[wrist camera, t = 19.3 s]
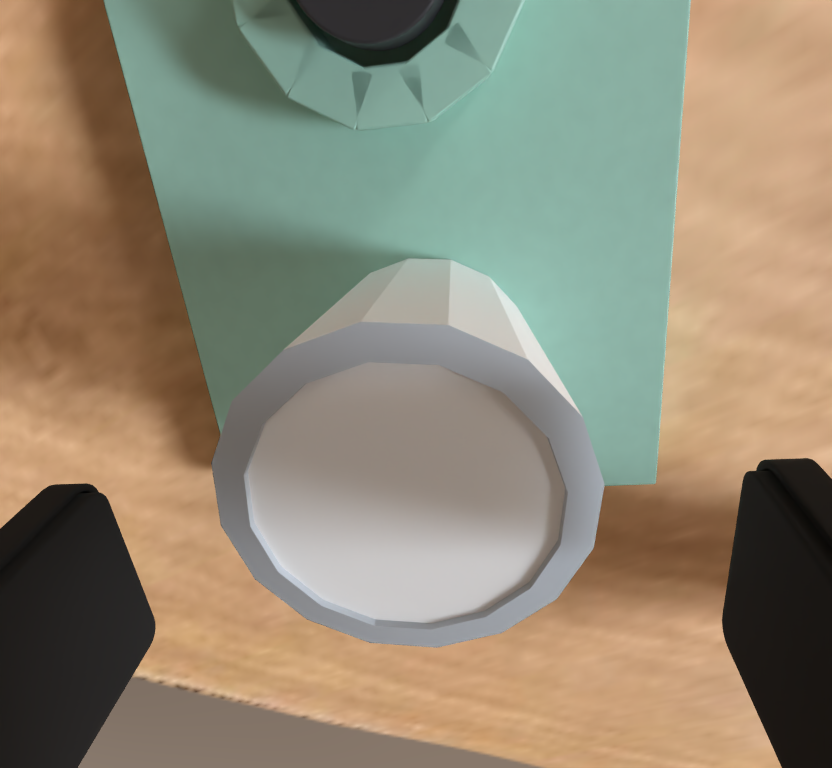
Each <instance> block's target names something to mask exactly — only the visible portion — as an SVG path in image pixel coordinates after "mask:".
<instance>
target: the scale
mask: <svg viewBox="0 0 832 768" xmlns="http://www.w3.org/2000/svg"><path fill="white" fill-rule="evenodd" d="M103 1H104V5H105V9H106V12H107V16H108V20H109V24H110V27H111V31H112V35H113V38H114V42H115V46H116V50H117V53H118V57H119V61H120V64H121V68H122V72H123V75H124V79H125V83H126V87H127V90H128V94H129V98H130V101H131V105H132V109H133V113H134V116H135V120H136V124H137V127H138V131H139V135H140V138H141V142H142V146H143V150H144V153H145V157H146V161H147V164H148V168H149V172H150V176H151V179H152V183H153V187H154V190H155V194H156V198H157V201H158V205H159V209H160V213H161V216H162V220H163V224H164V227H165V231H166V235H167V238H168V242H169V246H170V250H171V253H172V257H173V261H174V264H175V268H176V272H177V276H178V279H179V283H180V287H181V290H182V294H183V298H184V301H185V305H186V309H187V313H188V316H189V320H190V324H191V327H192V331H193V335H194V339H195V342H196V346H197V350H198V353H199V357H200V361H201V364H202V368H203V372H204V376H205V379H206V383H207V387H208V390H209V394H210V398H211V402H212V405H213V409H214V413H215V416H216V420H217V424H218V427H219V431H220V435H221V432H222V429H223V426H224V423H225V420H226V417H227V414H228V411H229V408H230V405H231V402H232V400H233V399H234V398H235V397H236V396H237V395H238V394H239V393H240V392H241V391H242V390H243V389H244V388H245V387H246V386H247V385H248V384H249V383H250V382H251V381H252V380H254V379H255V378H256V377H257V376H258V375H259V374H260V373H261V372H262V371H263V370H264V369H265V368H266V367H267V366H268V365H269V364H270V363H271V362H272V361H273V360H274V359H275V358H276V357H277V356H278V355H279V354H280V353H281V352H282V351H283V350H284V349H285V348H286V347H287V346H288V345H289V344H291V343H292V342H293V341H294V340H295V339H296V338H297V337H298V336H300V335H301V334H302V333H303V332H304V331H305V330H306V329H308V328H309V327H310V326H311V325H312V324H313V323H314V322H315V321H317V320H318V319H319V318H320V317H321V316H322V315H323V314H324V313H326V312H327V311H328V310H329V309H330V308H331V307H332V306H333V305H335V304H336V303H337V302H338V301H339V300H340V299H341V298H342V297H344V296H345V295H346V294H347V293H348V292H349V291H350V290H351V289H353V288H354V287H355V286H356V285H357V284H358V283H359V282H360V281H362V280H363V279H364V278H365V277H366V276H367V275H368V274H370V273H371V272H374V271H377V270H379V269H382V268H384V267H387V266H390V265H392V264H395V263H397V262H400V261H403V260H405V259H408V258H416V259H450V260H453V261H455V262H457V263H460V264H462V265H464V266H466V267H469V268H471V269H473V270H475V271H478V272H480V273H482V274H484V275H487V276H489V277H490V278H491V279H492V280H493V281H494V282H495V283H496V285H497V286H498V287H499V288H500V289H501V290H502V291H503V292H504V293H505V294H506V295H507V296H508V297H509V299H510V300H511V301H512V302H513V303H514V304H515V305H516V306H517V307H518V309H519V311H520V313H521V314H522V316H523V318H524V319H525V321H526V323H527V324H528V326H529V328H530V329H531V331H532V333H533V334H534V336H535V338H536V339H537V341H538V343H539V344H540V346H541V348H542V349H543V351H544V353H545V354H546V356H547V358H548V359H549V361H550V363H551V365H552V366H553V368H554V370H555V371H556V373H557V375H558V376H559V378H560V380H561V381H562V383H563V385H564V386H565V388H566V390H567V391H568V393H569V395H570V396H571V398H572V400H573V401H574V403H575V405H576V406H577V408H578V410H579V411H580V413H581V415H582V417H583V419H584V422H585V425H586V428H587V431H588V434H589V438H590V441H591V444H592V447H593V450H594V453H595V456H596V459H597V462H598V465H599V468H600V471H601V475H602V478H603V481H604V484H605V485H604V486H618V485H642V484H655V483H656V474H657V461H658V447H659V433H660V419H661V405H662V391H663V377H664V363H665V349H666V336H667V322H668V308H669V294H670V280H671V266H672V252H673V238H674V224H675V211H676V197H677V183H678V169H679V155H680V141H681V127H682V113H683V99H684V86H685V72H686V58H687V44H688V30H689V16H690V2H691V0H445V1H444V3H443V5H442V7H441V9H440V11H439V13H438V14H437V16H436V17H435V19H434V20H433V22H432V23H431V24H430V25H429V27H428V28H427V29H426V30H425V31H424V32H423V33H422V34H421V35H419V36H418V37H417V38H415V39H414V40H412V41H411V42H409V43H407V44H405V45H403V46H401V47H398V48H395V49H391V50H386V51H370V50H364V49H360V48H356V47H354V46H351V45H349V44H347V43H345V42H343V41H341V40H339V39H337V38H335V37H333V36H332V35H330V34H328V33H327V32H325V31H324V30H322V29H321V28H320V27H319V26H317V25H316V24H315V23H314V22H313V21H312V20H311V19H310V18H309V17H308V16H307V15H306V13H305V12H304V11H303V9H302V8H301V7H300V5H299V4H298V2H297V0H103Z"/></svg>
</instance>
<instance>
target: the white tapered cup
mask: <svg viewBox="0 0 832 768" xmlns="http://www.w3.org/2000/svg"><path fill="white" fill-rule="evenodd" d="M211 464H212V471H213V477H214V484H215V490H216V496H217V503H218V509H219V516H220V522H221V526H222V528H223V529H224V531H225V533H226V534H227V536H228V537H229V539H230V540H231V542H232V544H233V545H234V547H235V548H236V550H237V551H238V553H239V555H240V556H241V558H242V559H243V561H244V562H245V564H246V566H247V567H248V569H249V570H250V572H251V573H252V575H253V577H254V578H255V579H256V580H257V581H258V582H259V583H261V584H262V585H263V586H265V587H266V588H267V589H268V590H270V591H271V592H272V593H274V594H275V595H276V596H277V597H279V598H280V599H281V600H283V601H284V602H285V603H287V604H288V605H289V606H290V607H292V608H293V609H294V610H296V611H297V612H298V613H299V614H301V615H302V616H303V617H305V618H306V619H307V620H310V621H313V622H316V623H318V624H321V625H324V626H326V627H329V628H332V629H334V630H337V631H340V632H342V633H345V634H348V635H350V636H353V637H356V638H359V639H361V640H364V641H367V642H369V643H381V644H395V645H409V646H422V647H436V648H437V647H441V646H446V645H450V644H455V643H459V642H464V641H468V640H473V639H477V638H481V637H486V636H490V635H495V634H499V633H502V632H504V631H506V630H507V629H509V628H510V627H512V626H514V625H515V624H517V623H519V622H520V621H522V620H523V619H525V618H527V617H528V616H530V615H532V614H533V613H535V612H536V611H538V610H540V609H541V608H543V607H545V606H546V605H548V604H549V603H551V602H553V601H554V600H556V599H557V598H558V597H559V595H560V594H561V592H562V591H563V590H564V588H565V587H566V585H567V584H568V583H569V581H570V580H571V579H572V577H573V576H574V574H575V573H576V572H577V570H578V569H579V568H580V566H581V565H582V563H583V562H584V561H585V559H586V558H587V556H588V555H589V554H590V552H591V551H592V550H593V548H594V544H595V538H596V532H597V526H598V520H599V514H600V508H601V502H602V497H603V491H604V485H605V484H604V481H603V478H602V475H601V471H600V468H599V465H598V462H597V459H596V456H595V453H594V450H593V447H592V444H591V441H590V438H589V434H588V431H587V428H586V425H585V422H584V419H583V417H582V415H581V413H580V411H579V410H578V408H577V406H576V405H575V403H574V401H573V400H572V398H571V396H570V395H569V393H568V391H567V390H566V388H565V386H564V385H563V383H562V381H561V380H560V378H559V376H558V375H557V373H556V371H555V370H554V368H553V366H552V365H551V363H550V361H549V359H548V358H547V356H546V354H545V353H544V351H543V349H542V348H541V346H540V344H539V343H538V341H537V339H536V338H535V336H534V334H533V333H532V331H531V329H530V328H529V326H528V324H527V323H526V321H525V319H524V318H523V316H522V314H521V313H520V311H519V309H518V307H517V306H516V305H515V304H514V303H513V302H512V301H511V300H510V299H509V297H508V296H507V295H506V294H505V293H504V292H503V291H502V290H501V289H500V288H499V287H498V286H497V285H496V283H495V282H494V281H493V280H492V279H491V278H490V277H489V276H487V275H484V274H482V273H480V272H478V271H475V270H473V269H471V268H469V267H466V266H464V265H462V264H460V263H457V262H455V261H453V260H450V259H416V258H408V259H405V260H403V261H400V262H397V263H395V264H392V265H390V266H387V267H384V268H382V269H379V270H377V271H374V272H371V273H370V274H368V275H367V276H366V277H365V278H364V279H363V280H362V281H360V282H359V283H358V284H357V285H356V286H355V287H354V288H353V289H351V290H350V291H349V292H348V293H347V294H346V295H345V296H344V297H342V298H341V299H340V300H339V301H338V302H337V303H336V304H335V305H333V306H332V307H331V308H330V309H329V310H328V311H327V312H326V313H324V314H323V315H322V316H321V317H320V318H319V319H318V320H317V321H315V322H314V323H313V324H312V325H311V326H310V327H309V328H308V329H306V330H305V331H304V332H303V333H302V334H301V335H300V336H298V337H297V338H296V339H295V340H294V341H293V342H292V343H291V344H289V345H288V346H287V347H286V348H285V349H284V350H283V351H282V352H281V353H280V354H279V355H278V356H277V357H276V358H275V359H274V360H273V361H272V362H271V363H270V364H269V365H268V366H267V367H266V368H265V369H264V370H263V371H262V372H261V373H260V374H259V375H258V376H257V377H256V378H255V379H254V380H252V381H251V382H250V383H249V384H248V385H247V386H246V387H245V388H244V389H243V390H242V391H241V392H240V393H239V394H238V395H237V396H236V397H235V398H234V399H233V400H232V402H231V405H230V408H229V411H228V414H227V417H226V420H225V423H224V426H223V429H222V432H221V435H220V438H219V442H218V445H217V448H216V451H215V454H214V457H213V460H212V463H211Z"/></svg>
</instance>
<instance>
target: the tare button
mask: <svg viewBox="0 0 832 768" xmlns="http://www.w3.org/2000/svg"><path fill="white" fill-rule="evenodd" d="M444 1H445V0H297V2H298V4H299V5H300V7H301V8H302V9H303V11H304V12H305V13H306V15H307V16H308V17H309V18H310V19H311V20H312V21H313V22H314V23H315V24H316V25H317V26H319V27H320V28H321V29H322V30H324V31H325V32H327V33H328V34H330V35H332V36H333V37H335V38H337V39H339V40H341V41H343V42H345V43H347V44H349V45H351V46H354V47H356V48H360V49H364V50H370V51H386V50H391V49H395V48H398V47H401V46H403V45H405V44H407V43H409V42H411V41H412V40H414V39H415V38H417V37H418V36H419V35H421V34H422V33H423V32H424V31H425V30H426V29H427V28H428V27H429V25H430V24H431V23H432V22H433V20H434V19H435V17H436V16H437V14H438V13H439V11H440V9H441V7H442V5H443V3H444Z"/></svg>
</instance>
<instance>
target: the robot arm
mask: <svg viewBox="0 0 832 768" xmlns="http://www.w3.org/2000/svg"><path fill="white" fill-rule="evenodd" d="M722 625H723V632H724V637H725V641H726V643H727V646H728V649H729V651H730V653H731V655H732V657H733V660H734V662H735V664H736V666H737V669H738V671H739V673H740V675H741V677H742V680H743V682H744V684H745V686H746V688H747V691H748V693H749V695H750V697H751V700H752V702H753V704H754V706H755V708H756V711H757V713H758V715H759V717H760V720H761V722H762V724H763V726H764V728H765V731H766V733H767V735H768V737H769V740H770V742H771V744H772V746H773V748H774V751H775V753H776V755H777V757H778V760H779V762H780V764H781V766H782V768H832V479H831V478H830V477H829V476H828V475H827V473H826V472H825V471H824V470H823V469H822V468H821V467H820V466H819V465H818V464H817V463H816V462H815V461H814V460H812V459H808V458H803V459H775V460H763V461H761V462H760V463H759V465H758V467H757V470H756V471H748V472H747V473H746V474H745V476H744V479H743V483H742V490H741V497H740V503H739V510H738V516H737V523H736V530H735V536H734V543H733V550H732V556H731V563H730V569H729V576H728V583H727V589H726V596H725V603H724V609H723V617H722ZM154 634H155V620H154V616H153V614H152V611H151V609H150V606H149V603H148V601H147V598H146V596H145V593H144V591H143V588H142V586H141V583H140V580H139V578H138V575H137V573H136V570H135V568H134V565H133V562H132V560H131V557H130V555H129V552H128V550H127V547H126V545H125V542H124V539H123V537H122V534H121V532H120V529H119V527H118V524H117V522H116V519H115V516H114V514H113V511H112V509H111V506H110V504H109V501H108V499H107V498H106V496H105V495H104V494H102V493H99V492H98V490H97V489H96V488H95V487H94V486H93V485H90V484H60V485H51V486H48V487H47V488H45V489H44V490H42V491H41V492H40V493H39V494H38V495H37V496H36V497H35V498H34V499H32V500H31V501H30V502H29V503H28V504H27V505H26V506H25V507H24V508H23V509H21V510H20V511H19V512H18V513H17V514H16V515H15V516H14V517H13V518H12V519H10V520H9V521H8V522H7V523H6V524H5V525H4V526H3V527H2V528H1V529H0V768H78V766H79V764H80V763H81V761H82V759H83V758H84V756H85V754H86V753H87V750H88V749H89V747H90V746H91V744H92V743H93V741H94V739H95V737H96V736H97V734H98V732H99V731H100V729H101V727H102V726H103V724H104V722H105V721H106V719H107V717H108V716H109V714H110V712H111V710H112V709H113V707H114V706H115V704H116V702H117V700H118V699H119V697H120V696H121V694H122V692H123V691H124V689H125V687H126V685H127V684H128V682H129V680H130V679H131V677H132V675H133V674H134V672H135V670H136V669H137V667H138V665H139V664H140V662H141V660H142V659H143V657H144V655H145V654H146V652H147V650H148V649H149V647H150V645H151V643H152V641H153V638H154Z"/></svg>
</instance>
